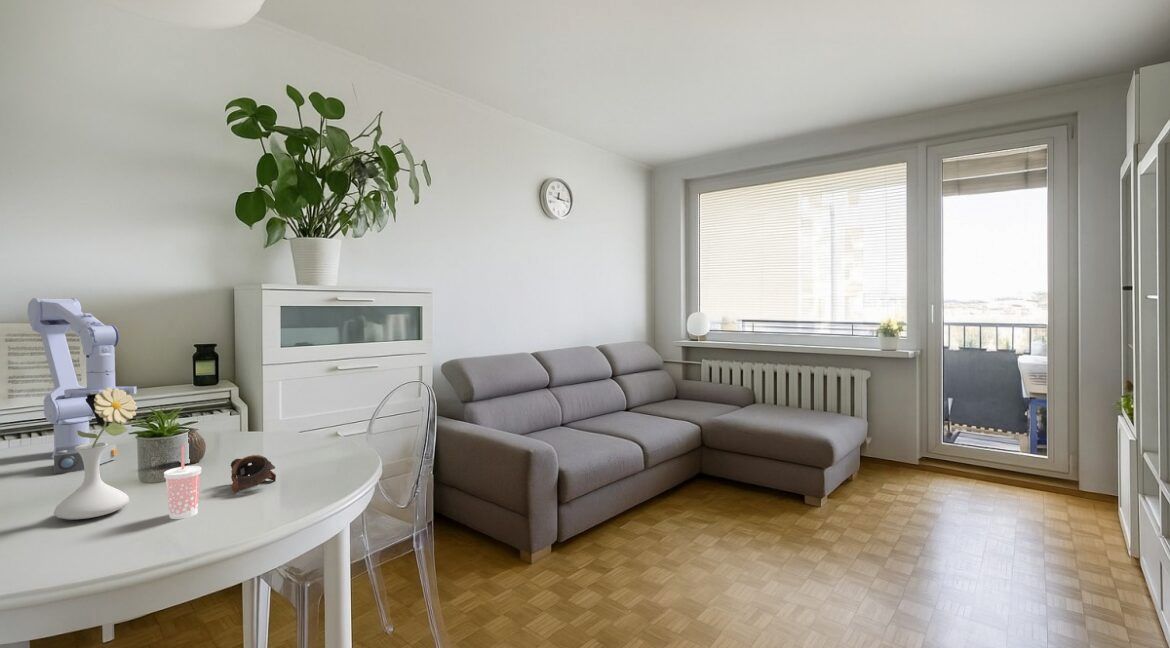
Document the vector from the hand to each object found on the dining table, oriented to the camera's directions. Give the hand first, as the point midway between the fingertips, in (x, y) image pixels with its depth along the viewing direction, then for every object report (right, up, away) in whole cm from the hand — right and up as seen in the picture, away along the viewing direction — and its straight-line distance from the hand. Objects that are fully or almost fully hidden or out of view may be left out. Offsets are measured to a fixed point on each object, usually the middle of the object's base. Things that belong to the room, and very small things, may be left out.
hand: (102, 422), depth 147 cm
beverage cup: (+47, -12, -35) cm, 60 cm away
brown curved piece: (+50, -12, -18) cm, 55 cm away
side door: (+2, -10, -2) cm, 10 cm away
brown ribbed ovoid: (+23, -11, 0) cm, 25 cm away
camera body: (-4, -10, -5) cm, 12 cm away
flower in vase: (+29, -12, -35) cm, 47 cm away
